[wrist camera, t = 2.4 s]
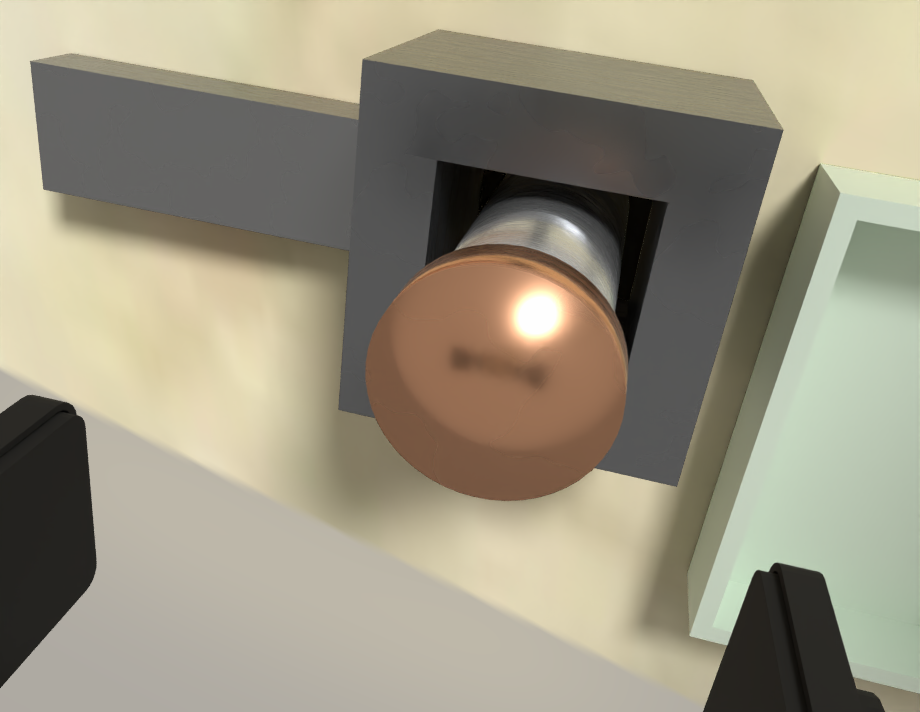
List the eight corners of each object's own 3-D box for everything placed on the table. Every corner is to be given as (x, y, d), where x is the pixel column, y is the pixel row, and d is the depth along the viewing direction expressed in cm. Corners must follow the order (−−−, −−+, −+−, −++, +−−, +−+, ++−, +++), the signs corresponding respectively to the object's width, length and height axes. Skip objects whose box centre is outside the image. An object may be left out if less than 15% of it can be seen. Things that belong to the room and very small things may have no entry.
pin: (659, 142, 25) (653, 296, 14) (624, 293, 27) (596, 526, 16) (498, 114, 25) (376, 241, 15) (477, 264, 28) (356, 468, 17)
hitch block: (753, 80, 23) (783, 129, 17) (674, 365, 28) (676, 487, 21) (63, -31, 26) (-120, -23, 20) (86, 242, 30) (-61, 318, 24)
